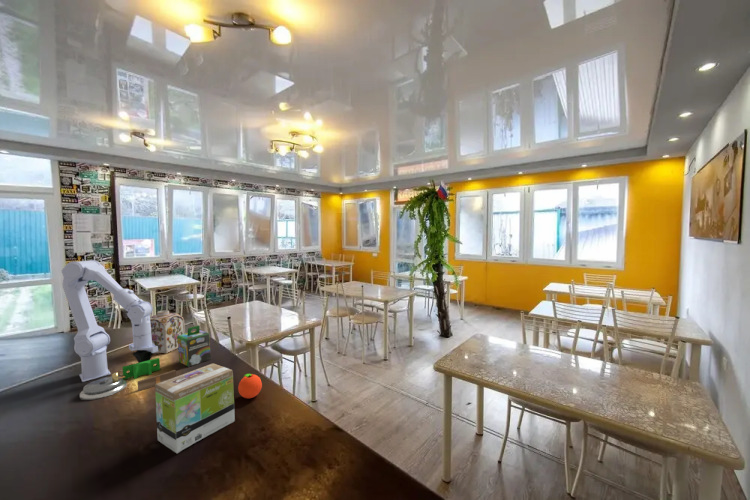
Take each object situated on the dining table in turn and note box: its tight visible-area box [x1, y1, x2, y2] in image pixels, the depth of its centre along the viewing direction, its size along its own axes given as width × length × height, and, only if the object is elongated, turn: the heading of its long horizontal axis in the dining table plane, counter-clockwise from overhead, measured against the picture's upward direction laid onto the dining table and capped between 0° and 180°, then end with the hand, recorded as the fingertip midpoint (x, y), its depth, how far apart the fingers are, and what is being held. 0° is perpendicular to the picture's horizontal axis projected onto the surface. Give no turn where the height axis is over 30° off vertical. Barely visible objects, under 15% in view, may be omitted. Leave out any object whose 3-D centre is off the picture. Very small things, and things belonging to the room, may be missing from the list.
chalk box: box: [177, 325, 212, 368], centre depth 128 cm, size 9×9×15 cm
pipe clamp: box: [122, 357, 161, 380], centre depth 116 cm, size 11×4×5 cm, turn 132°
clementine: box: [237, 373, 263, 399], centre depth 97 cm, size 8×7×7 cm
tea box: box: [154, 363, 236, 454], centre depth 80 cm, size 15×10×15 cm
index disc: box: [82, 371, 125, 395], centre depth 105 cm, size 10×10×4 cm
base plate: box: [79, 379, 128, 401], centre depth 105 cm, size 12×12×1 cm
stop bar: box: [137, 369, 177, 392], centre depth 108 cm, size 1×11×3 cm, turn 139°
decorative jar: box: [150, 309, 186, 354], centre depth 144 cm, size 12×12×18 cm
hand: (144, 368), depth 119 cm, fingers closed
